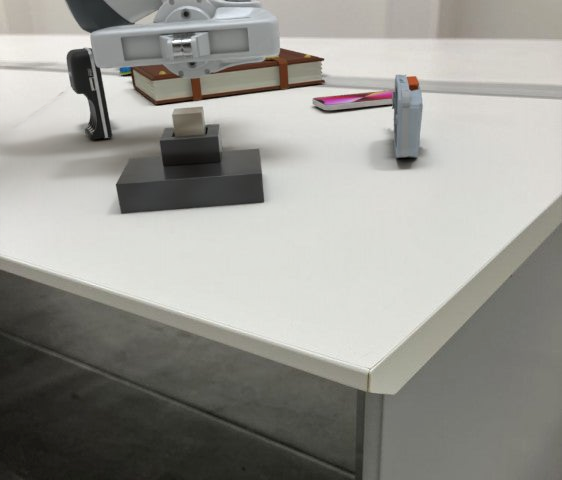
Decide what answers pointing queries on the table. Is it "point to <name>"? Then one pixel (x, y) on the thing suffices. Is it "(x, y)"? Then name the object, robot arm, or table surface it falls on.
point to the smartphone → (354, 100)
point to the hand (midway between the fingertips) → (182, 49)
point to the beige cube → (188, 121)
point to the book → (229, 78)
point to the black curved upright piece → (90, 90)
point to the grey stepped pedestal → (191, 175)
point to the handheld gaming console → (407, 116)
